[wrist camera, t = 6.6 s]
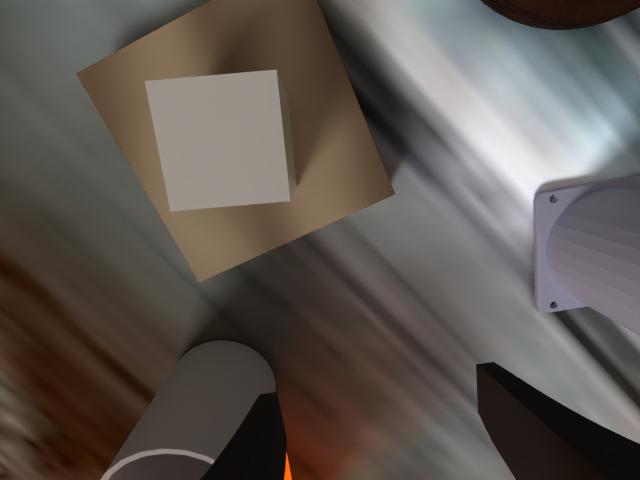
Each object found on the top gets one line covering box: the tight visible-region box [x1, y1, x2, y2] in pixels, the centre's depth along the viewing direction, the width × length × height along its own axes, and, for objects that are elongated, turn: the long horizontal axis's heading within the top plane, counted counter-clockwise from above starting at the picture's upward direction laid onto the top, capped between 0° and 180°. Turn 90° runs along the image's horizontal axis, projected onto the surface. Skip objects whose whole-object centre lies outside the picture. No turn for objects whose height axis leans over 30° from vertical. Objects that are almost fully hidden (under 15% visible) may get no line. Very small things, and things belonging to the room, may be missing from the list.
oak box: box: [76, 0, 395, 282], centre depth 19 cm, size 12×12×3 cm
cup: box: [101, 340, 276, 480], centre depth 20 cm, size 7×10×9 cm
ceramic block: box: [145, 70, 297, 211], centre depth 15 cm, size 4×4×6 cm
